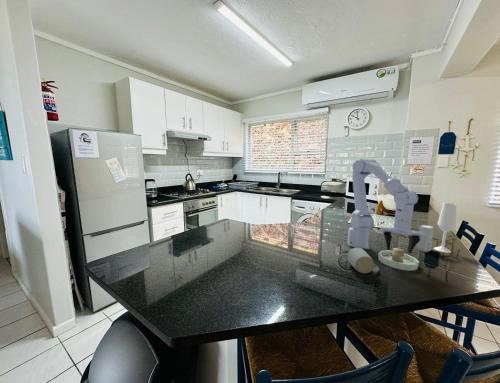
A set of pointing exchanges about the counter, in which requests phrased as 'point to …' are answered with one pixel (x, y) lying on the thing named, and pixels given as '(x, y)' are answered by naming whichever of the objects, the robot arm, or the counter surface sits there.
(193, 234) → the counter surface
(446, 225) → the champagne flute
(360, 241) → the robot arm
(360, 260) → the ceramic mug
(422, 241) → the skincare box
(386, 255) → the round tray
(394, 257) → the maple cylinder
